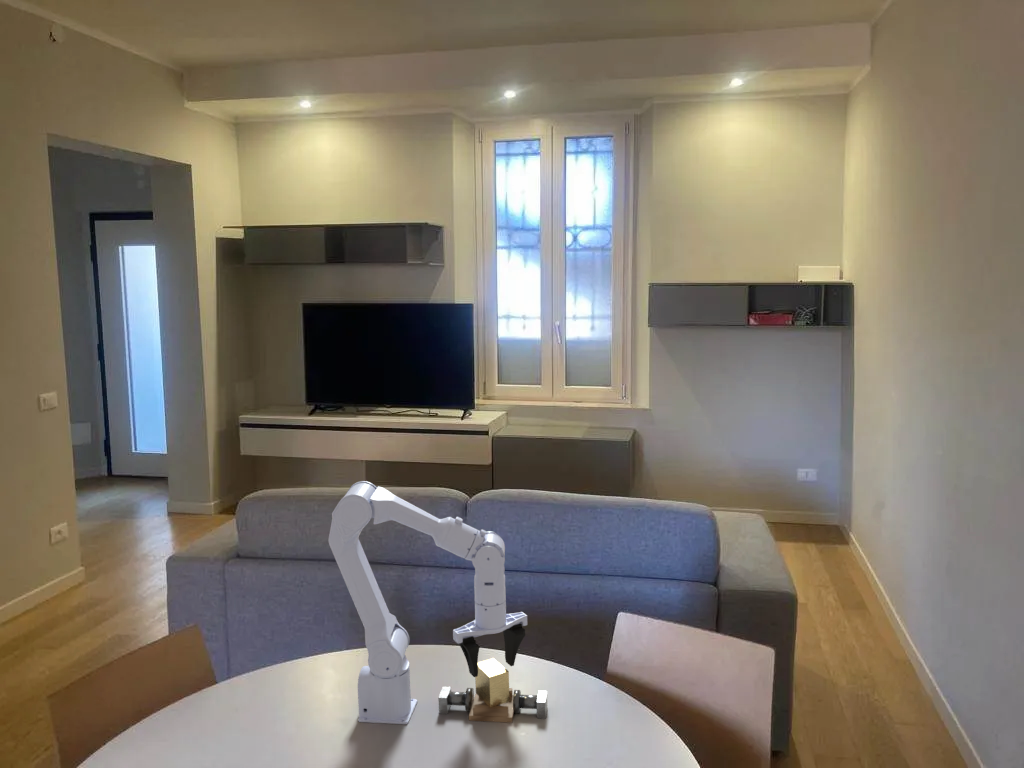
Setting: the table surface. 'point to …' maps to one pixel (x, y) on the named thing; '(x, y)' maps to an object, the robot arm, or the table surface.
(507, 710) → the shaft stand
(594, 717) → the table surface
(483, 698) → the block
